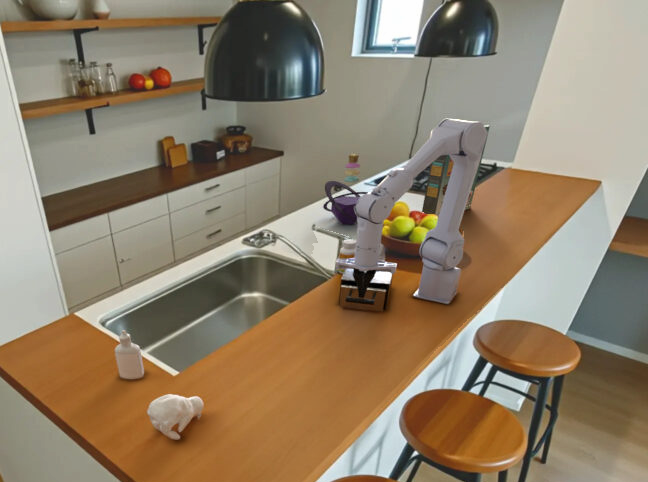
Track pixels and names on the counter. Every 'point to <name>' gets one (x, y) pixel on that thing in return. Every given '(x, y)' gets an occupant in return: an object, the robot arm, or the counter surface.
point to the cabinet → (378, 279)
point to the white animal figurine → (174, 413)
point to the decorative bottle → (345, 195)
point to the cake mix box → (443, 183)
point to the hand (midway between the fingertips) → (361, 296)
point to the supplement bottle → (347, 251)
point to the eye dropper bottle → (128, 358)
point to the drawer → (369, 302)
